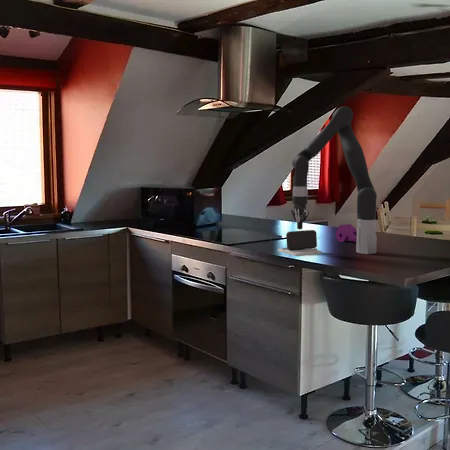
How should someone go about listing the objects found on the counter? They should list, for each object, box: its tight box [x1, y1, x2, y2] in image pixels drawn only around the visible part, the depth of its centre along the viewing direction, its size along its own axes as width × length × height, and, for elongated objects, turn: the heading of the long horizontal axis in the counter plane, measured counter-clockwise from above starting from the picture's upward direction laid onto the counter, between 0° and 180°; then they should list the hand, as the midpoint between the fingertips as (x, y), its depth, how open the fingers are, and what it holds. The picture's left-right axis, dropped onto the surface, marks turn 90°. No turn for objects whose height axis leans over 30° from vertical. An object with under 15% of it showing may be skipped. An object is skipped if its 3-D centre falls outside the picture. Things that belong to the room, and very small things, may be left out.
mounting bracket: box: [335, 223, 357, 243], centre depth 313 cm, size 9×8×18 cm
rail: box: [281, 247, 318, 252], centre depth 279 cm, size 10×15×1 cm, turn 117°
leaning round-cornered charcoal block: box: [285, 229, 318, 250], centre depth 279 cm, size 16×5×9 cm, turn 103°
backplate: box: [277, 247, 322, 257], centre depth 279 cm, size 16×16×1 cm
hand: (299, 229), depth 278 cm, fingers closed
